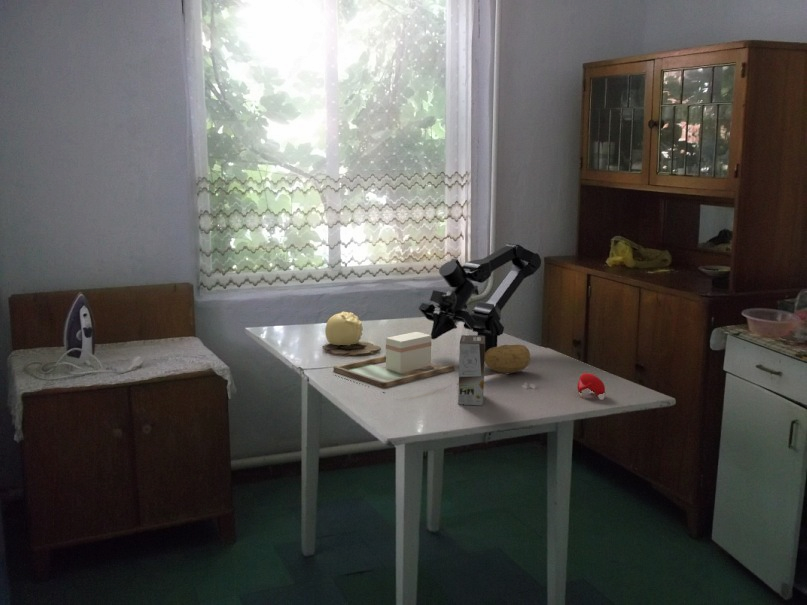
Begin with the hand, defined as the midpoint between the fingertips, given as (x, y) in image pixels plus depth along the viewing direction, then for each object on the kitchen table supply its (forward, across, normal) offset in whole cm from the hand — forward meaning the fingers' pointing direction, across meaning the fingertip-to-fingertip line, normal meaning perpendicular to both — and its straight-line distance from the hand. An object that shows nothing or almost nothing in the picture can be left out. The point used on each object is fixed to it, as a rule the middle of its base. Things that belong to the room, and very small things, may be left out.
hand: (432, 338), depth 245 cm
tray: (+16, 0, -4) cm, 16 cm away
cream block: (+12, 0, -2) cm, 12 cm away
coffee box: (+17, +30, -5) cm, 35 cm away
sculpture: (+8, -36, +4) cm, 38 cm away
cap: (-1, +48, +14) cm, 50 cm away
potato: (-2, +19, +14) cm, 24 cm away
